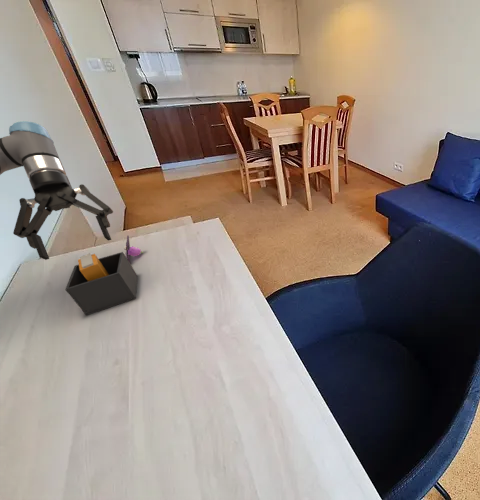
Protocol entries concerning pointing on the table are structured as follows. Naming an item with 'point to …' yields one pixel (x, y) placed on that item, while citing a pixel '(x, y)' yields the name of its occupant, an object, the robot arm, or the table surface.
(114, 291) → the bin
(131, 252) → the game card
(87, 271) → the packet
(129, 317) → the table surface
